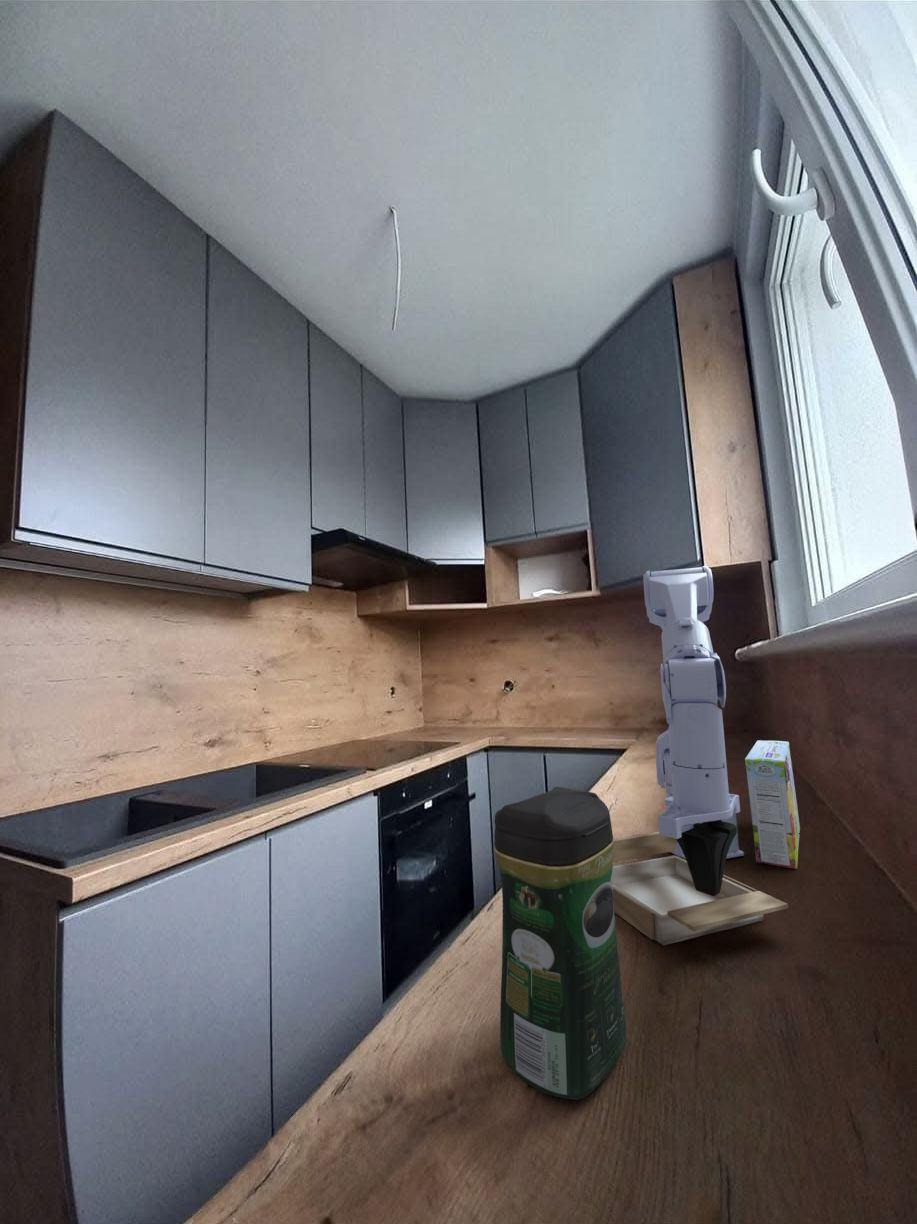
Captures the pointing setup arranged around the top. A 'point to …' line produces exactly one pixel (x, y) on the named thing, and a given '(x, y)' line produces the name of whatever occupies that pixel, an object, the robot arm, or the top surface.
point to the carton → (666, 898)
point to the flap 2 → (726, 910)
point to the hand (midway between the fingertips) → (707, 891)
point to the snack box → (773, 803)
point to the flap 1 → (642, 845)
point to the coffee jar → (559, 942)
